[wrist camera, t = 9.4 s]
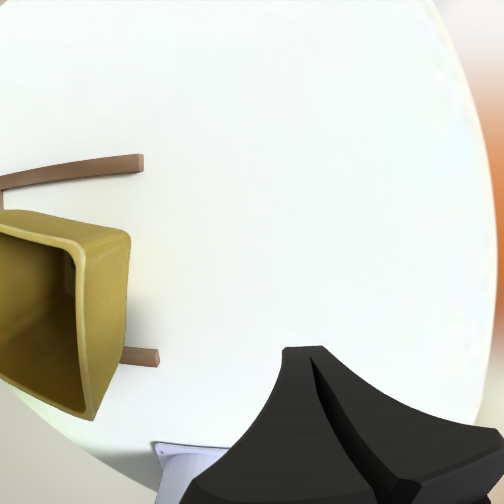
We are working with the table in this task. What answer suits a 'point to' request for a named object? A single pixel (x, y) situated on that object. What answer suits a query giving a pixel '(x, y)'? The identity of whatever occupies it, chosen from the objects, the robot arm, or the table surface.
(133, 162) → the brown wooden open-sided frame
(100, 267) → the flower pot
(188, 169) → the table surface
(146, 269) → the table surface
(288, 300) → the table surface
